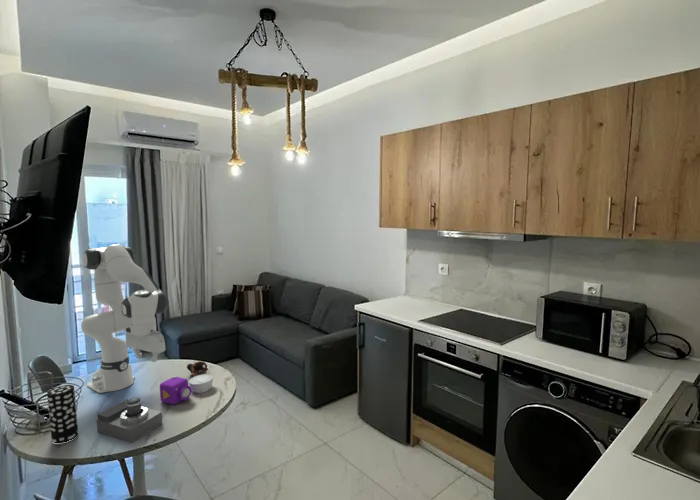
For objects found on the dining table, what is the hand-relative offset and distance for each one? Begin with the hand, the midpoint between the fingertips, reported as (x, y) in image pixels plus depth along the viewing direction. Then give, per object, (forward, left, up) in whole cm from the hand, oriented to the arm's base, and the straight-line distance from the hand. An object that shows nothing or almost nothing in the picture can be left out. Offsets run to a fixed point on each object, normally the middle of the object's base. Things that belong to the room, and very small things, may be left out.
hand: (146, 359), depth 162 cm
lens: (+4, -11, -20) cm, 23 cm away
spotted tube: (-15, -26, -25) cm, 39 cm away
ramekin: (+4, +26, -25) cm, 37 cm away
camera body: (+2, -11, -25) cm, 27 cm away
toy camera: (+2, +13, -25) cm, 29 cm away
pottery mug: (-11, +38, -25) cm, 47 cm away
